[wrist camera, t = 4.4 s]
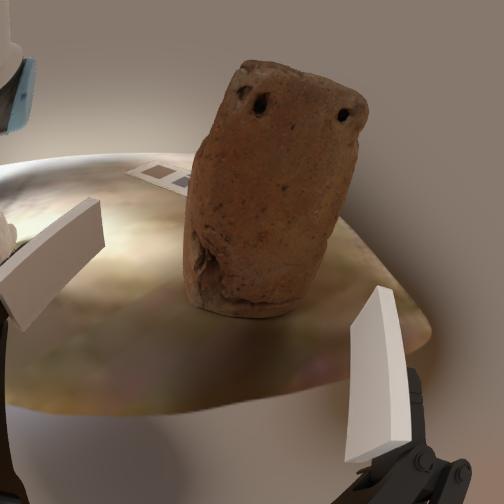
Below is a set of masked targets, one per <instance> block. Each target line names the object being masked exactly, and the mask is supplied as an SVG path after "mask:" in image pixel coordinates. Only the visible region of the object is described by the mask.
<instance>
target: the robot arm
mask: <svg viewBox="0 0 504 504" xmlns="http://www.w3.org/2000/svg"><path fill="white" fill-rule="evenodd" d="M35 75H36V60H35V59H34V58H30V57H28V58H26V59H24V60H23V53H22V49H21V47H20V46H19V45H17V44H15V43H11V36H10V23H9V0H0V136H3V135H8V134H9V133H11V132H15V131H18V130H20V129H22V128H24V127H25V125H26V124H27V122H28V120H29V116H30V111H31V106H32V99H33V92H34V85H35ZM104 247H105V242H104V235H103V227H102V218H101V208H100V200H96V199H93V198H90V197H89V198H87V199H86V200H84V201H83V202H81V203H80V204H79V205H77V206H76V207H74V208H73V209H71V210H70V211H69V212H67V213H66V214H64V215H63V216H62V217H60V218H59V219H57V220H56V221H55V222H53V223H52V224H51V225H49V226H48V227H47V228H46V229H44V230H43V231H42V232H40V233H39V234H38V235H37V236H35V237H34V238H33V239H32V240H30V241H28V242H26V243H24V244H23V245H21V246H20V247H19V248H18V249H17V250H15V252H13V253H12V254H11V255H10V256H9V258H6V259H5V260H4V261H3V262H2V263H1V264H0V504H29V501H28V497H27V494H26V490H25V488H24V485H23V483H22V481H21V480H20V479H19V477H18V476H17V475H16V473H15V472H14V469H13V465H12V459H11V454H10V448H9V442H8V434H7V424H6V412H5V354H6V341H7V332H8V321H7V318H8V316H9V317H10V318H11V320H12V322H13V323H14V325H15V326H16V327H17V328H19V329H20V330H21V331H22V332H23V333H24V332H25V331H26V329H27V328H28V327H29V326H30V325H31V323H32V322H33V321H34V320H35V319H36V318H37V316H38V315H39V314H40V313H41V312H42V311H43V309H44V308H45V307H46V306H47V305H48V304H49V303H50V302H51V301H52V299H53V298H54V297H55V296H56V295H57V294H58V293H59V292H60V291H61V290H62V289H63V288H64V287H65V285H66V284H67V283H68V282H69V281H70V280H71V279H72V278H73V277H74V276H75V275H76V274H77V273H78V272H79V271H80V270H81V269H82V268H83V267H84V266H85V265H86V264H87V263H88V262H89V261H90V260H91V259H92V258H93V257H94V256H95V255H96V254H97V253H99V252H100V251H101V250H102V249H103V248H104ZM350 332H351V369H350V399H349V400H350V401H349V416H348V429H347V441H346V451H345V459H344V462H354V463H364V462H366V461H369V460H371V459H372V465H371V466H370V467H367V468H364V469H361V470H359V471H358V472H357V475H358V474H361V473H363V474H362V475H361V476H360V477H359V478H358V479H357V480H356V481H355V482H354V483H353V484H352V485H351V486H350V487H349V488H348V489H347V490H345V492H343V493H342V494H341V495H340V496H339V497H338V498H337V499H336V500H335V501H333V502H332V503H331V504H427V502H428V500H430V501H429V503H428V504H463V501H464V498H465V495H466V492H467V489H468V487H469V484H470V480H471V475H472V470H471V466H470V463H469V462H468V461H467V460H466V459H459V460H457V461H454V462H452V463H450V462H447V461H443V460H441V459H439V458H436V456H435V453H434V451H433V450H432V448H431V447H429V446H427V445H426V439H425V421H424V409H423V405H422V404H423V398H422V395H421V394H422V390H421V382H420V379H419V377H418V374H417V372H416V370H415V369H413V368H408V367H406V362H405V355H404V348H403V342H402V336H401V330H400V324H399V319H398V314H397V309H396V304H395V300H394V295H393V291H392V290H391V289H388V288H385V287H382V286H379V285H377V287H376V288H375V290H374V291H373V293H372V295H371V296H370V298H369V299H368V301H367V302H366V304H365V306H364V307H363V309H362V310H361V312H360V313H359V315H358V316H357V318H356V319H355V321H354V322H353V323H352V325H351V326H350Z"/></svg>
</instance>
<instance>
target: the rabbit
mask: <svg viewBox="0 0 504 504" xmlns="http://www.w3.org/2000/svg"><path fill="white" fill-rule="evenodd" d="M16 240H17V231H16V228H15V226H14V225H13V224H8V223H7V221H6V219H5V216H4V215H3V214H2V212H1V211H0V264H1V263H2V262H3V261H4V260H5V259H6V258H9V256H10V255H11V252H12V250H13V249H14V247H15V244H16Z"/></svg>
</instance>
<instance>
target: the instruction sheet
mask: <svg viewBox="0 0 504 504" xmlns="http://www.w3.org/2000/svg"><path fill="white" fill-rule="evenodd" d="M125 174H127V175H130V176H132V177H135V178H138V179H141V180H144V181H146V182H149V183H152V184H155V185H157V186H160V187H163V188H165V189H168V190H171V191H173V192H176V193H179V194H181V195H184V196H187V191H188V181H189V180H190V175H191V171H188V170H184V169H181V168H178V167H175V166H172V165H169V164H165V163H162V162H159V161H156V160H154V161H152V162H149V163H147V164H144V165H142V166H139V167H137V168H134V169H132V170H129V171H127V172H125Z"/></svg>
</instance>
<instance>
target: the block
mask: <svg viewBox="0 0 504 504" xmlns="http://www.w3.org/2000/svg"><path fill="white" fill-rule="evenodd" d="M368 114H369V109H368V104H367V101H366V99H365V98H363V96H362V95H361V94H359V93H358V92H357V91H355V90H352V89H350V88H348V87H345V86H343V85H341V84H338V83H336V82H334V81H332V80H330V79H328V78H325V77H321V76H318V75H315V74H311V73H306V72H301V71H298V70H295V69H292V68H290V67H289V66H285V65H282V64H279V63H275V62H269V61H268V62H267V61H257V60H247V61H244V62H243V63H242V65H241V67H240V69H238V70H236V72H235V73H234V75H233V77H232V79H231V81H230V83H229V86H228V88H227V90H226V92H225V95H224V99H223V102H222V103H221V105H220V107H219V109H218V112H217V115H216V118H215V120H214V123H213V125H212V128H211V130H210V133H209V135H208V136H207V137H206V138H205V139H204V140H203V142H202V144H201V146H200V148H199V149H198V151H197V153H196V155H195V158H194V161H193V166H192V171H191V175H190V183H189V191H188V198H187V208H186V217H185V226H184V241H183V274H184V284H185V289H186V293H187V297H188V299H189V301H190V303H191V304H192V305H193V306H196V307H198V308H202V309H207V310H209V311H213V312H216V313H219V314H222V315H226V316H235V317H250V318H268V317H273V316H278V315H283V314H286V313H288V312H290V311H292V310H293V309H295V308H296V307H297V305H298V304H299V302H300V301H301V299H302V298H303V296H304V294H305V293H306V291H307V289H308V288H309V286H310V284H311V282H312V280H313V278H314V276H315V274H316V272H317V270H318V268H319V266H320V263H321V261H322V259H323V256H324V254H325V251H326V248H327V239H328V238H329V237H330V236H331V234H332V232H333V229H334V226H335V224H336V222H337V220H338V217H339V214H340V211H341V209H342V206H343V204H344V201H345V198H346V195H347V192H348V188H349V184H350V182H351V179H352V175H353V172H354V168H355V164H356V161H357V157H358V149H359V144H358V140H357V139H358V136H359V133H360V132H361V130H362V129H363V128H364V126H365V124H366V122H367V119H368Z"/></svg>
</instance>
